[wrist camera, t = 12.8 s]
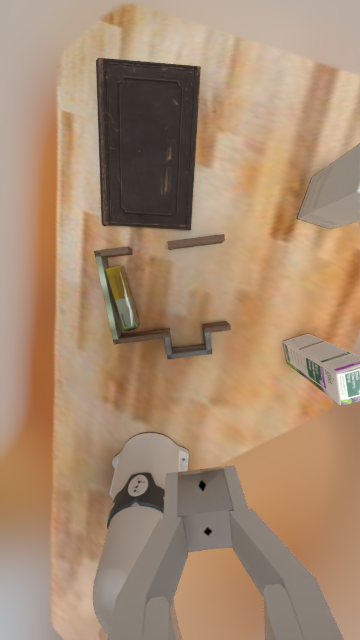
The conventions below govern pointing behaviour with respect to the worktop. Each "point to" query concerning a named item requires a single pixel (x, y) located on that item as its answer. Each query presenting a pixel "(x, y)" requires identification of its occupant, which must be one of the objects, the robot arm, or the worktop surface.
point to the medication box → (123, 297)
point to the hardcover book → (147, 142)
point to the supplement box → (334, 193)
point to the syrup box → (326, 367)
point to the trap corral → (163, 333)
